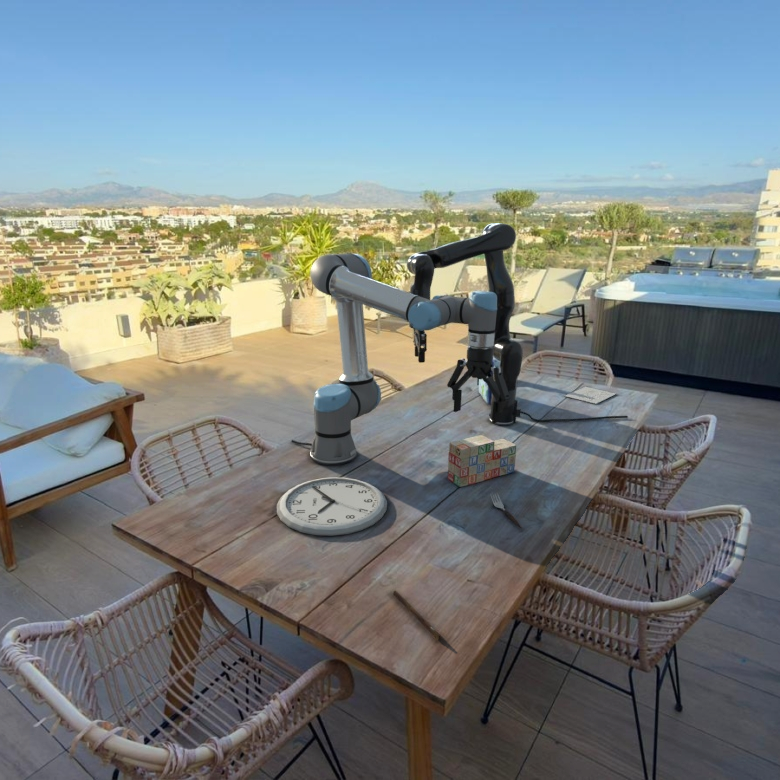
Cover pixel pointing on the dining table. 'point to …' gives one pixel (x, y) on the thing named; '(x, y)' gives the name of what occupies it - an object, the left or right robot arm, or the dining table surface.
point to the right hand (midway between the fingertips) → (419, 359)
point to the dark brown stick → (416, 614)
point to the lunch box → (483, 386)
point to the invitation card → (590, 395)
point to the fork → (500, 505)
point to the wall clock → (331, 506)
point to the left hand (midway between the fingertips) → (475, 416)
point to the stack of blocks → (479, 459)
